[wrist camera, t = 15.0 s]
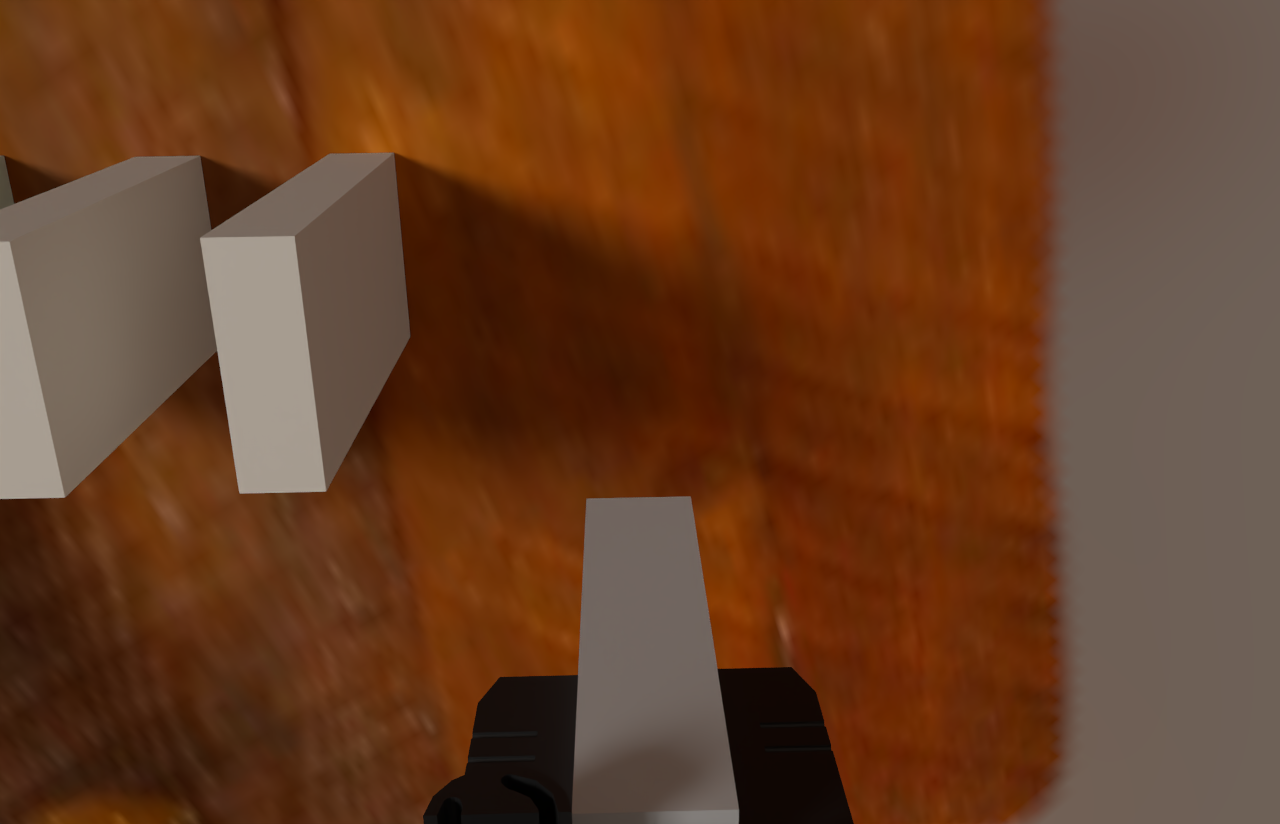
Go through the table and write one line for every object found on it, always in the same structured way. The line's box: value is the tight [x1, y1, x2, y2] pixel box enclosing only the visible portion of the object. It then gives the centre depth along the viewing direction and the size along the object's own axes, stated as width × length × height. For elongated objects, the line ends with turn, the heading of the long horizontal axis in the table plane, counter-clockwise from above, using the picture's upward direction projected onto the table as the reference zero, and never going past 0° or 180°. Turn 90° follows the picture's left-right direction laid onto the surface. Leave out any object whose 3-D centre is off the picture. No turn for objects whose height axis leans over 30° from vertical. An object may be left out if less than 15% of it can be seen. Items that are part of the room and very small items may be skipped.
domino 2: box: [200, 153, 410, 493], centre depth 31 cm, size 2×6×12 cm, turn 1°
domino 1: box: [0, 156, 217, 499], centre depth 31 cm, size 2×6×12 cm, turn 1°
